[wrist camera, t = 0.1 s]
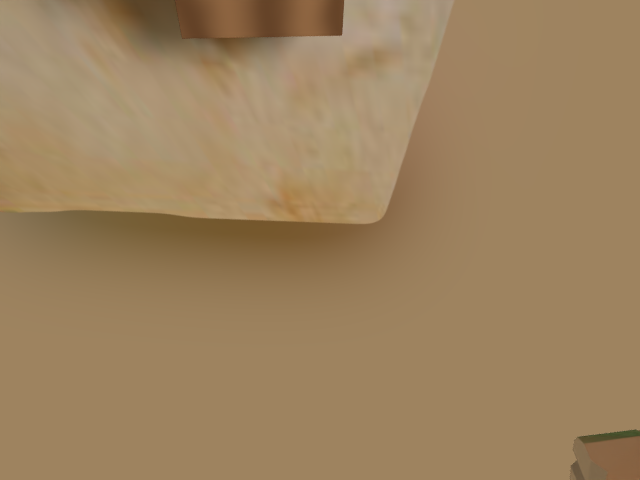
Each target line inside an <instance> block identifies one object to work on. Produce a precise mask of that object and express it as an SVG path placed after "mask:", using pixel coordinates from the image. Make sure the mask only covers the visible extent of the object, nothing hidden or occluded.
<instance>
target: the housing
mask: <svg viewBox="0 0 640 480" xmlns="http://www.w3.org/2000/svg"><path fill="white" fill-rule="evenodd" d="M175 3H176V9H177V14H178V19H179V24H180V30H181V35H182V39H187V38H238V37H289V36H340V35H342V27H343V10H344V0H175Z"/></svg>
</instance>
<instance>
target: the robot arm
mask: <svg viewBox="0 0 640 480" xmlns="http://www.w3.org/2000/svg"><path fill="white" fill-rule="evenodd" d="M573 451H574V454H575V456H576V459H577V461H576V462H575V463H573V464H572V465H571V470H570V480H640V430H628V431H620V432H613V433H604V434H597V435H588V436H580V437H577V438H576V439H575V440H574V446H573Z"/></svg>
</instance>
